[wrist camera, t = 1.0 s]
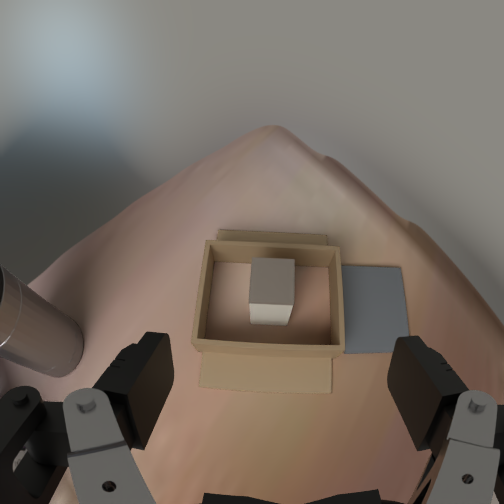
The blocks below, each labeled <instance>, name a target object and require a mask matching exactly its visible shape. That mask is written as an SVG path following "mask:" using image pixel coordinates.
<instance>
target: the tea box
mask: <svg viewBox="0 0 504 504" xmlns="http://www.w3.org/2000/svg"><path fill="white" fill-rule="evenodd" d="M294 273H295V259H279V258H259V257H252V264H251V277H250V291H249V305H250V320H251V324H259V325H280V326H287V324H288V321H289V317H290V314H291V311H292V307H293V305H294Z"/></svg>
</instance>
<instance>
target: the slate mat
mask: <svg viewBox="0 0 504 504" xmlns="http://www.w3.org/2000/svg"><path fill="white" fill-rule="evenodd" d="M341 271H342V286H343V304H344V327H345V351H344V354H352V353H387V352H393V350H394V346H395V342H396V340H397V338H398V337H405V336H409V330H408V320H407V311H406V303H405V295H404V288H403V281H402V275H401V268H390V267H365V266H342V265H341Z"/></svg>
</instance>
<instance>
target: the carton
mask: <svg viewBox="0 0 504 504" xmlns="http://www.w3.org/2000/svg"><path fill="white" fill-rule="evenodd" d="M252 257H259V258H279V259H295V266H317V267H328V268H329V290H330V320H331V345H295V344H269V343H250V342H235V341H221V340H209V339H205V330H206V322H207V314H208V306H209V298H210V290H211V282H212V275H213V267H214V262H233V263H252ZM191 344H192V345H193V346H194V347H195V349H196V350H197V351H198V352H202V361H201V371H200V380H199V387H203V388H213V389H223V390H235V391H250V392H269V393H331V376H332V358H337V357H338V356H339V355H340V354H341V353H343V352H344V351H345V327H344V304H343V286H342V271H341V258H340V246H328V244H327V235H316V234H297V233H277V232H256V231H233V230H218V236H217V240H206V243H205V249H204V255H203V262H202V268H201V275H200V281H199V288H198V295H197V302H196V309H195V316H194V324H193V331H192V339H191Z"/></svg>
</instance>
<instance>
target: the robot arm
mask: <svg viewBox="0 0 504 504" xmlns="http://www.w3.org/2000/svg"><path fill="white" fill-rule="evenodd" d="M82 352H83V337H82V333H81V330H80V328H79V326H78V325H77V324H76V322H75V321H73V320H72V319H71V318H70V317H68V316H67V315H65V314H64V313H62V312H61V311H60V310H58V309H57V308H56V307H54V306H53V305H52V304H50V303H49V302H47V301H46V300H45V299H43V298H42V297H41V296H40V295H38V294H37V293H36V292H34V291H33V290H32V289H30V288H29V287H28V286H27V285H25V284H24V283H23V282H22V281H20V280H19V279H18V278H17V277H15V276H14V275H13V274H11V273H10V272H9V271H8V270H7V269H6V268H5V267H3V266H2V265H1V264H0V357H2V358H5V359H7V360H9V361H12V362H14V363H17V364H19V365H22V366H24V367H27V368H30V369H32V370H35V371H37V372H40V373H43V374H46V375H49V376H52V377H62V376H65V375H67V374H69V373H70V372H72V371H73V370H74V369H75V367H76V366H77V365H78V363H79V361H80V359H81V356H82ZM173 381H174V367H173V360H172V352H171V344H170V338H169V335H168V334H167V333H157V332H146V333H145V334H144V336H143V337H142V338H141V340H140V341H139V342H138V344H133V343H132V344H131V345H129V346H127V347H126V348H124V349H122V350H121V351H120V353H119V354H118V355H117V356H116V358H115V360H113V362H112V363H111V364H110V367H108V368H107V369H106V370H105V372H104V373H103V374H102V376H101V377H100V378H99V380H98V381H97V382H96V383H95V385H94V386H93V387H92V388H84V389H79V390H76V391H74V392H72V393H71V394H69V395H68V396H67V397H66V398H65V400H64V402H47V401H43V400H42V398H41V396H40V393H39V392H38V390H37V389H35V388H33V387H30V386H20V387H16V388H13V389H11V390H10V391H8V392H7V393H6V394H5V395H4V396H3V397H2V398H1V399H0V504H49V502H50V500H51V498H52V496H53V494H54V492H55V490H56V488H57V486H58V484H59V482H60V481H61V479H62V477H63V475H64V473H65V471H66V469H67V467H69V468H70V472H71V476H72V480H73V484H74V487H75V491H76V495H77V498H78V501H79V504H156V502H155V500H154V499H153V497H152V495H151V493H150V491H149V489H148V487H147V485H146V483H145V481H144V479H143V477H142V475H141V473H140V471H139V469H138V467H137V465H136V463H135V461H134V459H133V456H132V454H131V452H130V451H131V449H132V448H136V449H140V450H144V449H145V447H146V445H147V442H148V440H149V438H150V436H151V433H152V431H153V429H154V426H155V424H156V422H157V420H158V417H159V415H160V413H161V411H162V408H163V406H164V404H165V402H166V399H167V397H168V395H169V393H170V390H171V388H172V385H173ZM387 383H388V388H389V391H390V393H391V395H392V397H393V399H394V401H395V403H396V405H397V408H398V410H399V412H400V414H401V416H402V418H403V420H404V423H405V425H406V427H407V429H408V431H409V434H410V436H411V438H412V440H413V443H414V445H415V447H416V449H417V451H422V450H426V449H431V451H432V453H431V455H430V457H429V459H428V461H427V463H426V466H425V468H424V471H423V473H422V475H421V477H420V480H419V482H418V484H417V486H416V488H415V490H414V492H413V495H412V497H411V498H410V500H409V502H408V504H491V500H492V496H493V491H494V492H495V494H496V497H497V499H498V501H499V504H504V405H497V403H496V401H495V400H494V399H493V398H492V397H491V396H490V395H489V394H487V393H485V392H482V391H478V390H469V389H468V388H467V386H466V385H465V384H464V383H463V381H462V380H461V379H460V377H459V376H458V375H457V374H456V372H455V371H454V370H452V367H451V366H450V365H449V364H447V361H446V360H445V359H444V358H443V356H442V355H441V354H440V353H438V352H436V351H435V350H433V349H432V348H428V347H427V346H426V344H425V343H424V342H423V341H422V339H421V338H420V337H419V336H405V337H398V338H397V340H396V342H395V346H394V350H393V355H392V359H391V363H390V367H389V371H388V376H387ZM23 446H25V448H26V449H27V452H26V453H25V455H24V456H23V458H22V459H21V461H20V463H19V464H18V466H17V467H16V469H15V470H14V472H13V462H14V459H15V458H16V456H17V455H18V453H19V452H20V450H21V449H22V448H23ZM201 504H279V503H274V502H269V501H264V500H260V499H256V498H251V497H246V496H231V495H220V494H210V493H204V496H203V501H202V503H201ZM306 504H404V503H400V502H395V501H389V500H381V498H380V495H379V491H378V489H377V490H370V491H364V492H356V493H348V494H339V495H335V496H332V497H328V498H325V499H321V500H317V501H314V502H310V503H306Z"/></svg>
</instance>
